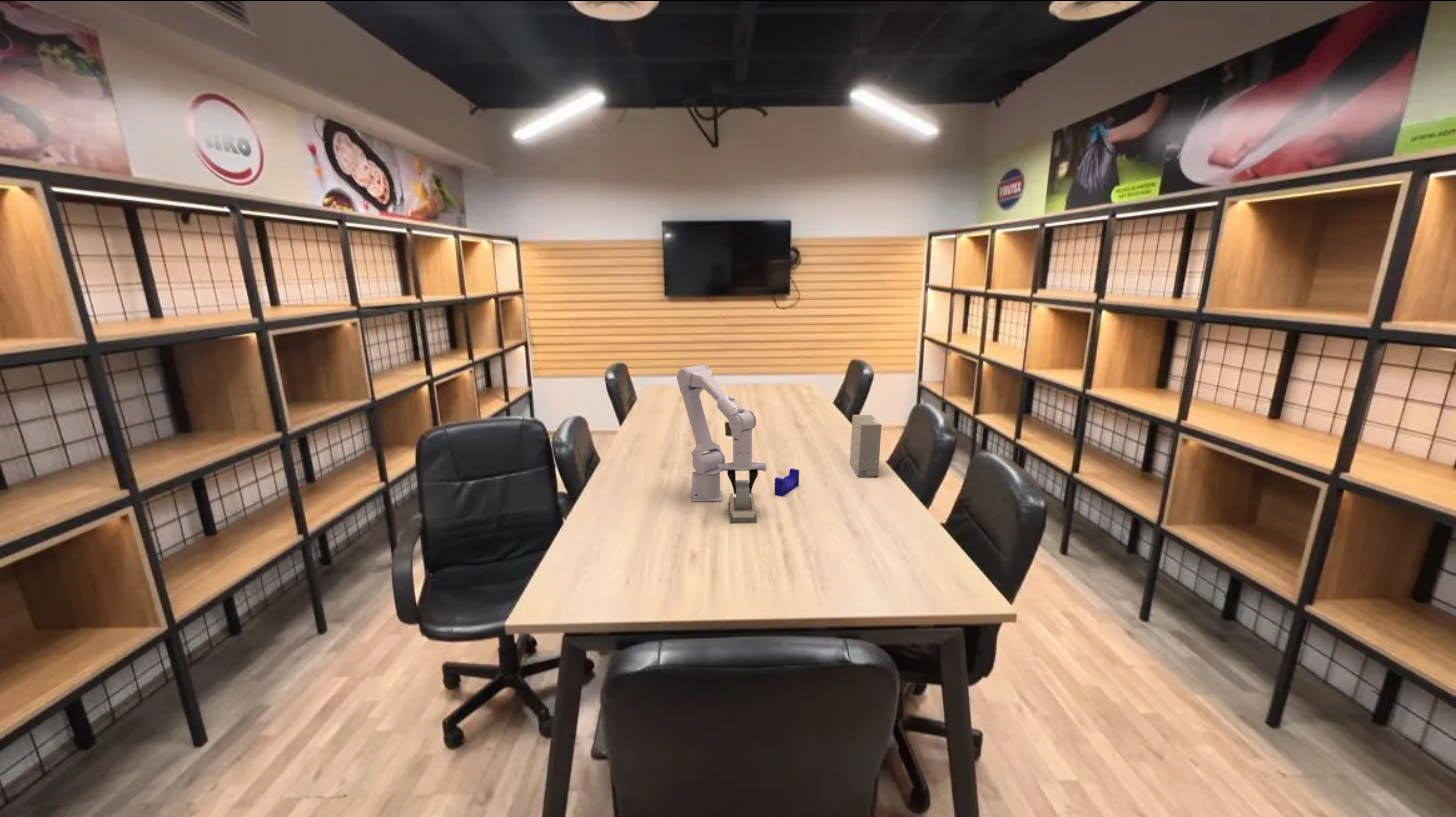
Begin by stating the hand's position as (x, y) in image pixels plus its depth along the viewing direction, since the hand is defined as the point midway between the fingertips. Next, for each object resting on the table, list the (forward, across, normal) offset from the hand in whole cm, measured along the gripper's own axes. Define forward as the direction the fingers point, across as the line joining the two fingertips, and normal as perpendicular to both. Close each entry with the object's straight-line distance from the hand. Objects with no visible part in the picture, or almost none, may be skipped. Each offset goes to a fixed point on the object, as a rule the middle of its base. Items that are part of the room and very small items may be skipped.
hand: (742, 492), depth 172 cm
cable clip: (+7, +15, +18) cm, 25 cm away
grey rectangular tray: (+6, 0, 0) cm, 6 cm away
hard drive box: (+7, +47, +36) cm, 60 cm away
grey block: (+2, 0, 0) cm, 2 cm away
